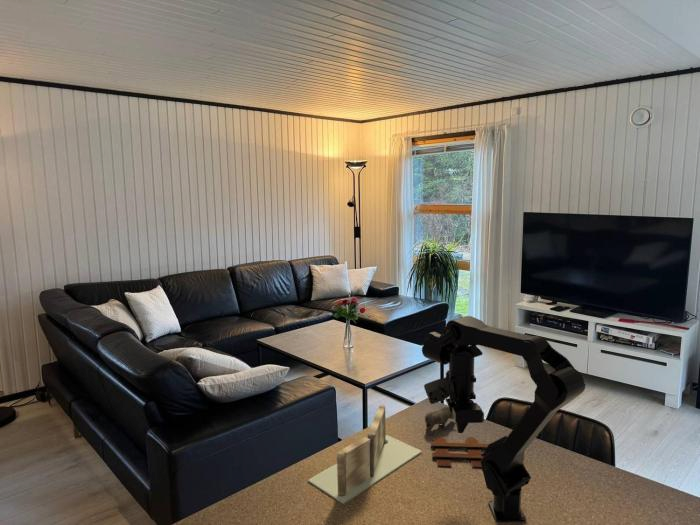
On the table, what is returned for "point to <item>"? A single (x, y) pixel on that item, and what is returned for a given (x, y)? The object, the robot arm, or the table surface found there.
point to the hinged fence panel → (378, 432)
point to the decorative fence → (445, 456)
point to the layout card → (388, 461)
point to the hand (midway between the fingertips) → (460, 432)
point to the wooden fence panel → (355, 464)
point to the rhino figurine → (437, 418)
